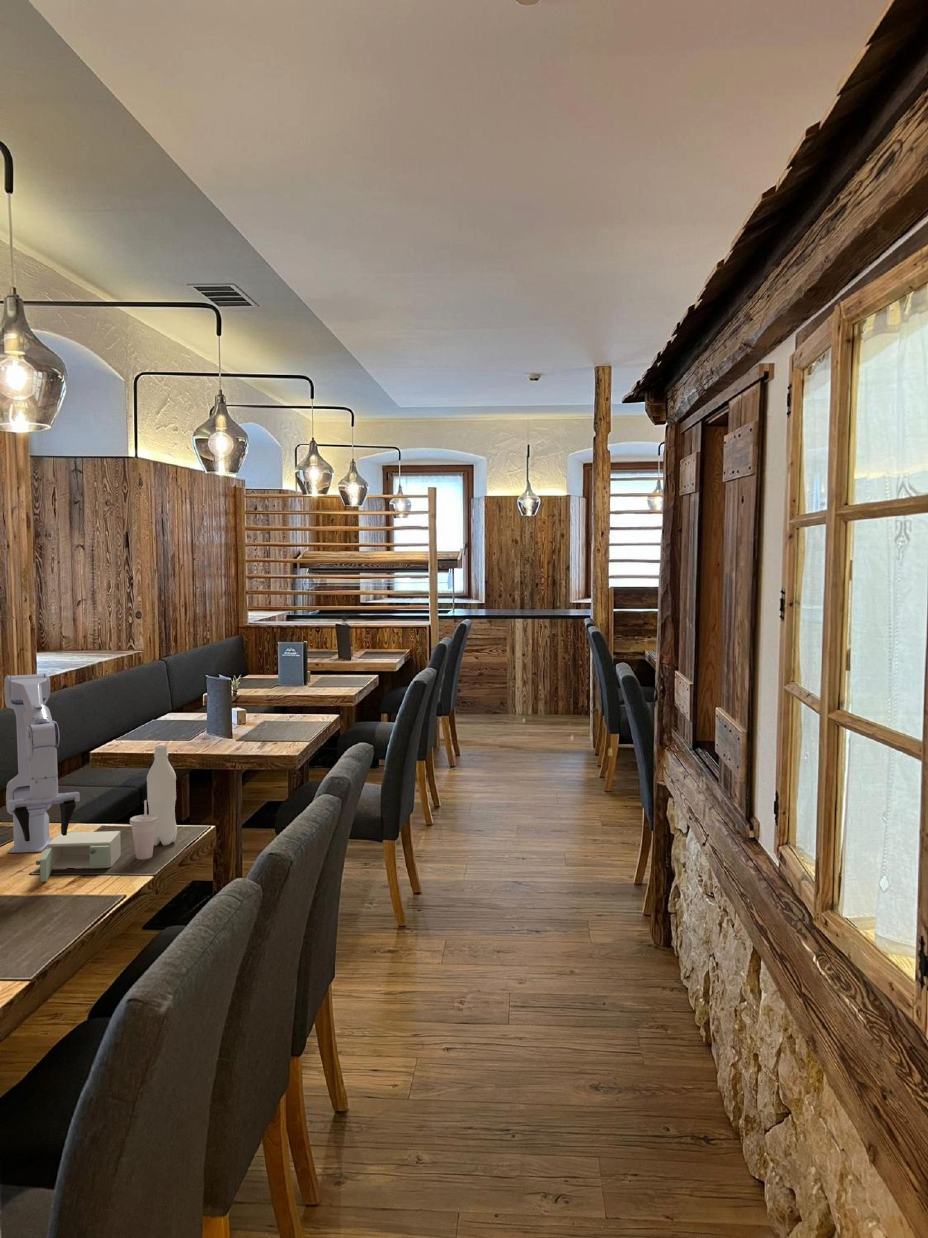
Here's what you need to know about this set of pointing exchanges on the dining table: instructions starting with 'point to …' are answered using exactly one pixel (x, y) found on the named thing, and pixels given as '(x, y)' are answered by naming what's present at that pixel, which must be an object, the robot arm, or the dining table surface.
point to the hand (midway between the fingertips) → (45, 837)
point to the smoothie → (143, 833)
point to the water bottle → (162, 796)
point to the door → (45, 864)
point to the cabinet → (86, 849)
